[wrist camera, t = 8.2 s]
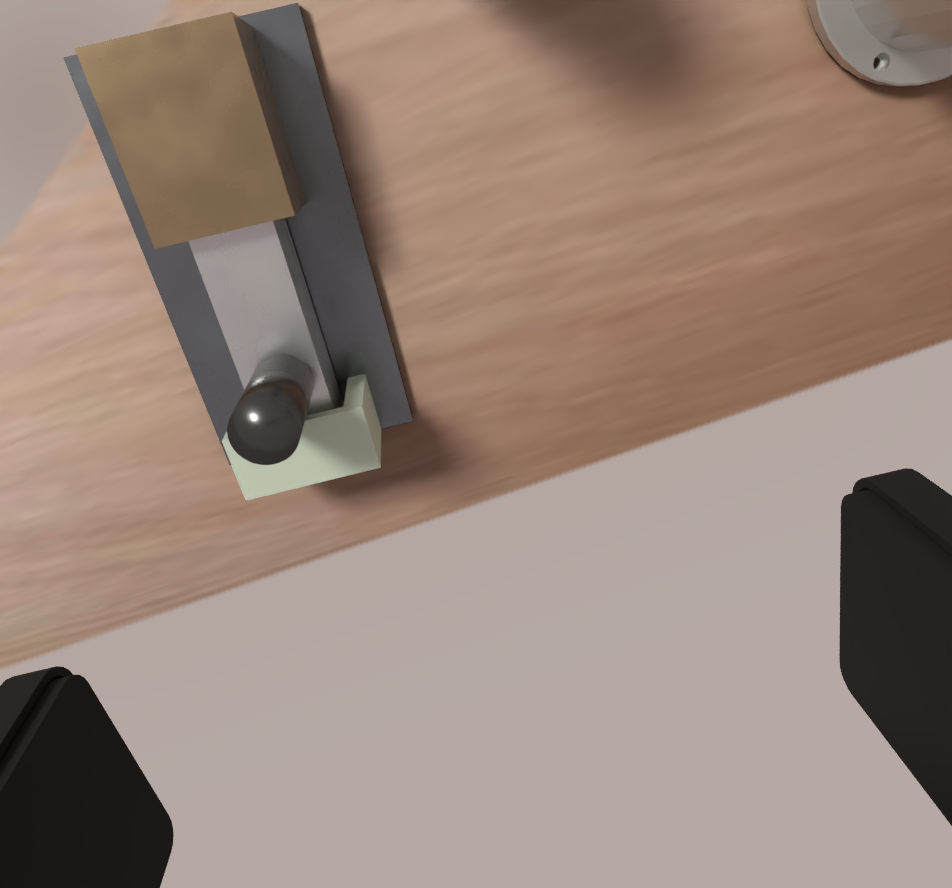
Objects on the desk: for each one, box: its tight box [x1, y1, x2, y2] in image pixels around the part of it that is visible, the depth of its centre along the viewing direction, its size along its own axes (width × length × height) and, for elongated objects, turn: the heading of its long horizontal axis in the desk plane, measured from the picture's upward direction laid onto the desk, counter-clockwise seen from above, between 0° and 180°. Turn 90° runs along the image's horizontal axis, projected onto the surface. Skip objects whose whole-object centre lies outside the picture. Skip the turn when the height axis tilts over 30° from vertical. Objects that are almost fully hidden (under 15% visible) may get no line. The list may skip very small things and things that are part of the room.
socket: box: [222, 374, 381, 500], centre depth 39 cm, size 7×4×5 cm, turn 102°
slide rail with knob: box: [64, 3, 413, 465], centre depth 36 cm, size 11×22×6 cm, turn 12°
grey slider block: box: [188, 218, 344, 465], centre depth 34 cm, size 4×14×10 cm, turn 12°
